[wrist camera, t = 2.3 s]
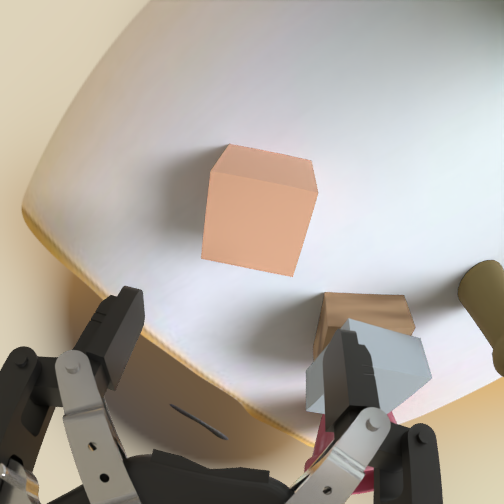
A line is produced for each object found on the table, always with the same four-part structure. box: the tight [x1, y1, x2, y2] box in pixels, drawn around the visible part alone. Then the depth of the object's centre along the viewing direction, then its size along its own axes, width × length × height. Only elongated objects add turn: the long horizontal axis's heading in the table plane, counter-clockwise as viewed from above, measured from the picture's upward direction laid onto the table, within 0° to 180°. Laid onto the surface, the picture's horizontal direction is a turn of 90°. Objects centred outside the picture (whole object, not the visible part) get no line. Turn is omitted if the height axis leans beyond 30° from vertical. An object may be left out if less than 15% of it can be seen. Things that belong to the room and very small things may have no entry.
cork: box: [458, 260, 504, 377], centre depth 21 cm, size 6×6×11 cm
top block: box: [306, 318, 432, 414], centre depth 25 cm, size 8×8×4 cm
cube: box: [201, 144, 318, 277], centre depth 21 cm, size 6×6×6 cm
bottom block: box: [313, 292, 415, 361], centre depth 29 cm, size 8×8×4 cm
